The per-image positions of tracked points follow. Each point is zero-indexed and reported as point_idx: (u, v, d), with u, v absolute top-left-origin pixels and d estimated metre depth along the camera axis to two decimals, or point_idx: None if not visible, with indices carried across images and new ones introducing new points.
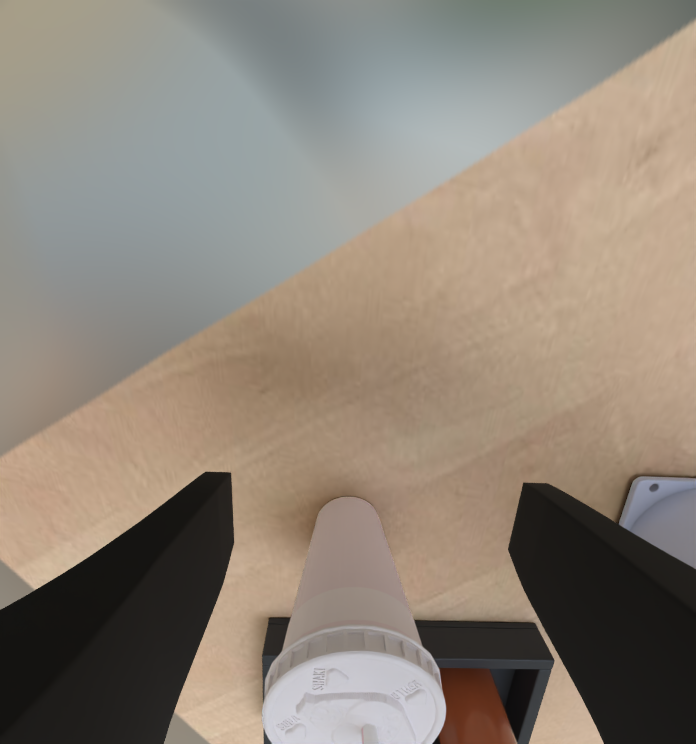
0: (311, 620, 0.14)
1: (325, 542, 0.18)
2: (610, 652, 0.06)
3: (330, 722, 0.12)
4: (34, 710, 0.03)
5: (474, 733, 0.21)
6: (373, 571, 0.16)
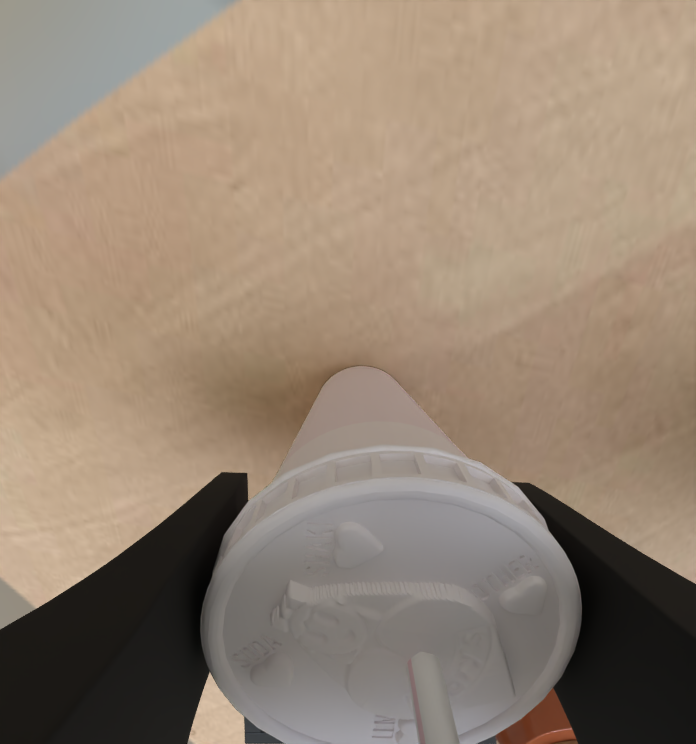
0: (305, 462, 0.07)
1: (330, 397, 0.11)
2: (584, 652, 0.06)
3: (343, 647, 0.06)
4: (78, 711, 0.03)
5: (547, 706, 0.14)
6: (412, 414, 0.09)
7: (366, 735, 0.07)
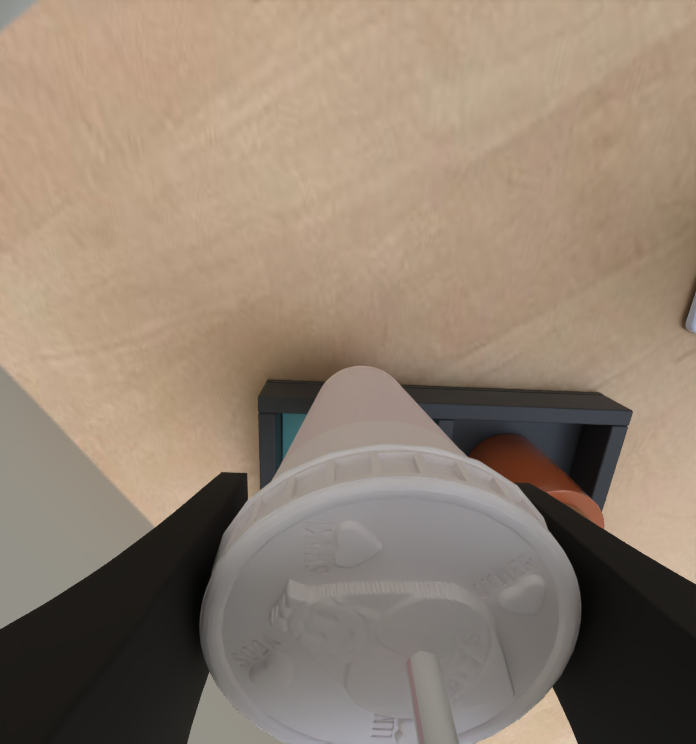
0: (304, 461, 0.07)
1: (330, 396, 0.11)
2: (584, 652, 0.06)
3: (342, 646, 0.06)
4: (77, 710, 0.03)
5: (536, 481, 0.16)
6: (412, 413, 0.09)
7: (366, 734, 0.07)
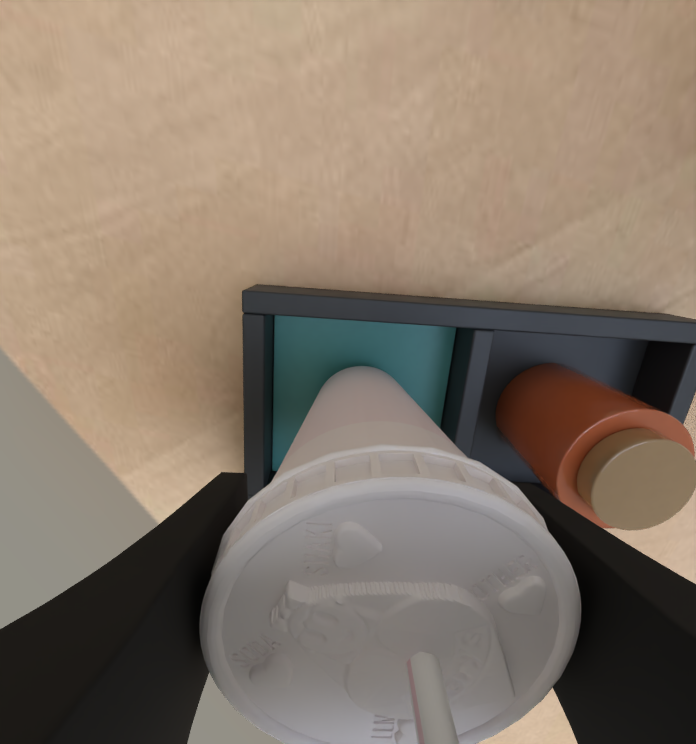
0: (304, 461, 0.07)
1: (330, 397, 0.11)
2: (584, 652, 0.06)
3: (342, 647, 0.06)
4: (77, 711, 0.03)
5: (605, 402, 0.12)
6: (412, 414, 0.09)
7: (365, 735, 0.07)
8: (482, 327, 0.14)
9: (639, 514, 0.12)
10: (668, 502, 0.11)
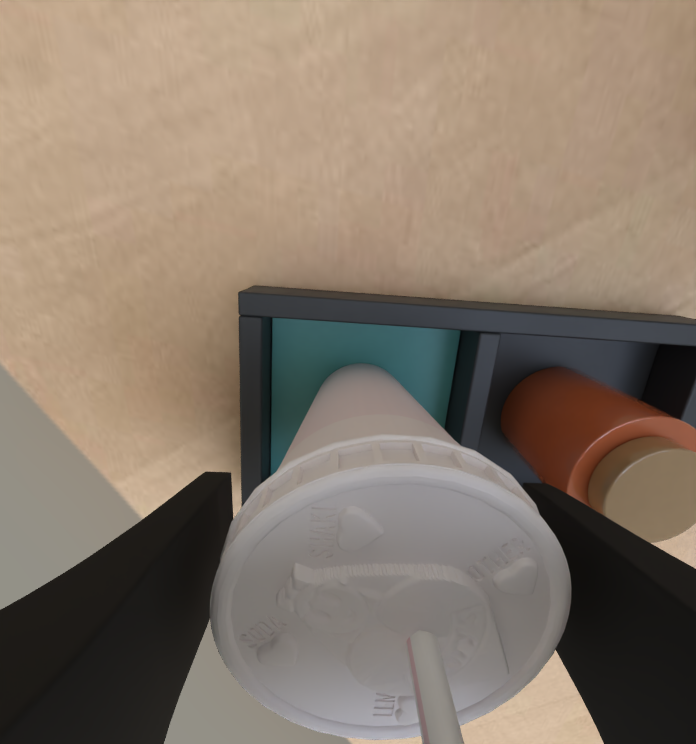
0: (308, 453, 0.07)
1: (330, 393, 0.12)
2: (610, 652, 0.06)
3: (345, 626, 0.06)
4: (34, 710, 0.03)
5: (617, 409, 0.12)
6: (410, 408, 0.09)
7: (367, 713, 0.07)
8: (488, 330, 0.13)
9: (653, 526, 0.11)
10: (684, 514, 0.11)
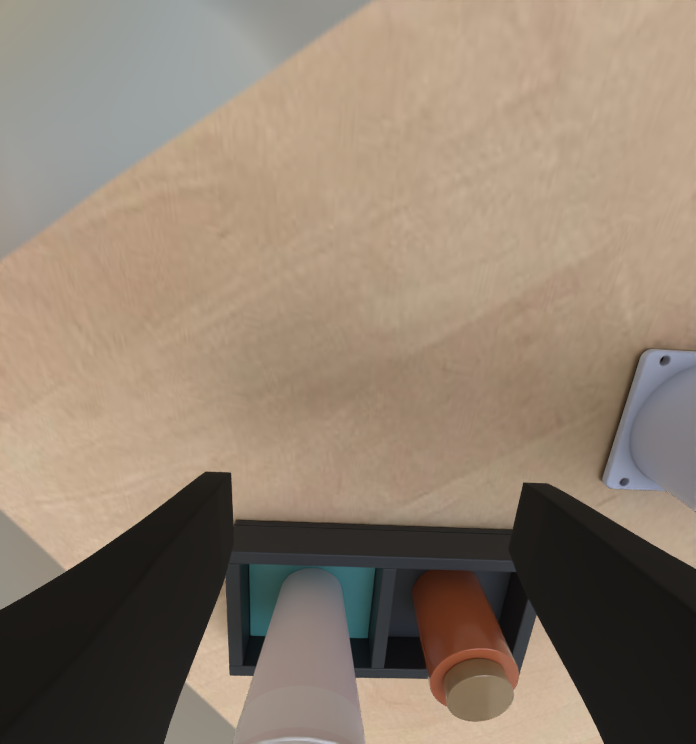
0: (256, 724, 0.14)
1: (281, 625, 0.19)
2: (610, 652, 0.06)
3: None
4: (34, 710, 0.03)
5: (461, 635, 0.18)
6: (321, 663, 0.16)
7: None
8: (388, 567, 0.20)
9: (479, 713, 0.18)
10: (497, 707, 0.18)
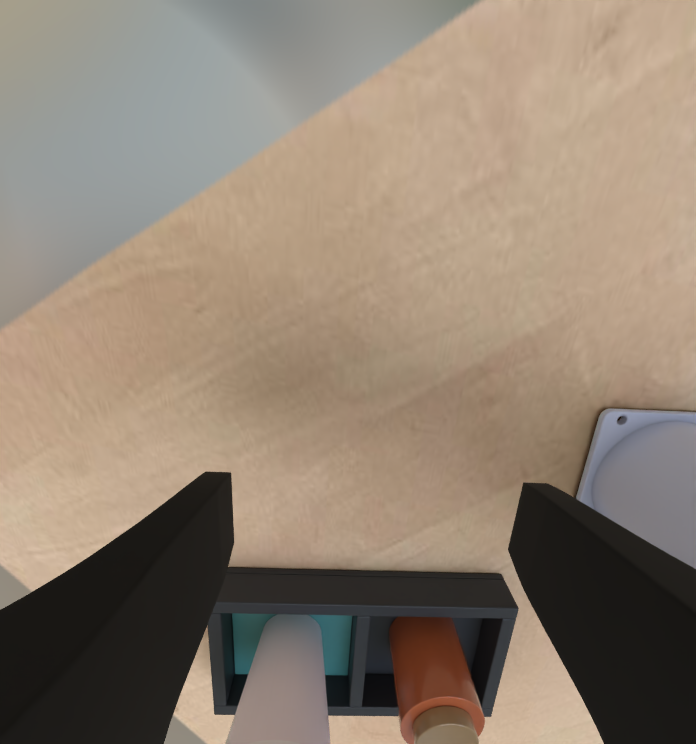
0: None
1: (259, 674, 0.20)
2: (610, 652, 0.06)
3: None
4: (34, 710, 0.03)
5: (429, 682, 0.19)
6: (294, 715, 0.17)
7: None
8: (362, 615, 0.21)
9: None
10: None
